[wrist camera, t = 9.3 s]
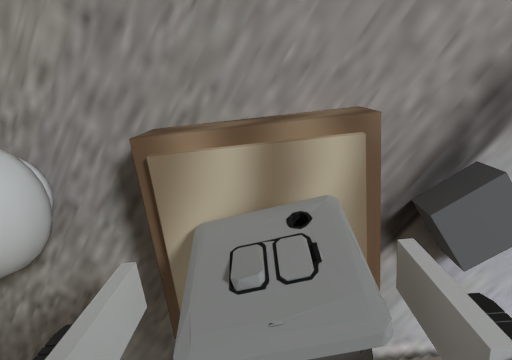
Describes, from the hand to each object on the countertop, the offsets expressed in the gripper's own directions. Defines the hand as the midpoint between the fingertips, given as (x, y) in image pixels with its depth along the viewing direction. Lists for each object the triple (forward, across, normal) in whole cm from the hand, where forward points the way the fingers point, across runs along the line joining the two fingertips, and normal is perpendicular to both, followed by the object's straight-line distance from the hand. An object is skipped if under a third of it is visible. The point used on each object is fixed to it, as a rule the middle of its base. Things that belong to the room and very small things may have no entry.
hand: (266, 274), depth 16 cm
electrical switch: (+3, -1, 0) cm, 3 cm away
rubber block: (+8, -14, +1) cm, 16 cm away
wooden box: (+8, 0, 0) cm, 8 cm away
